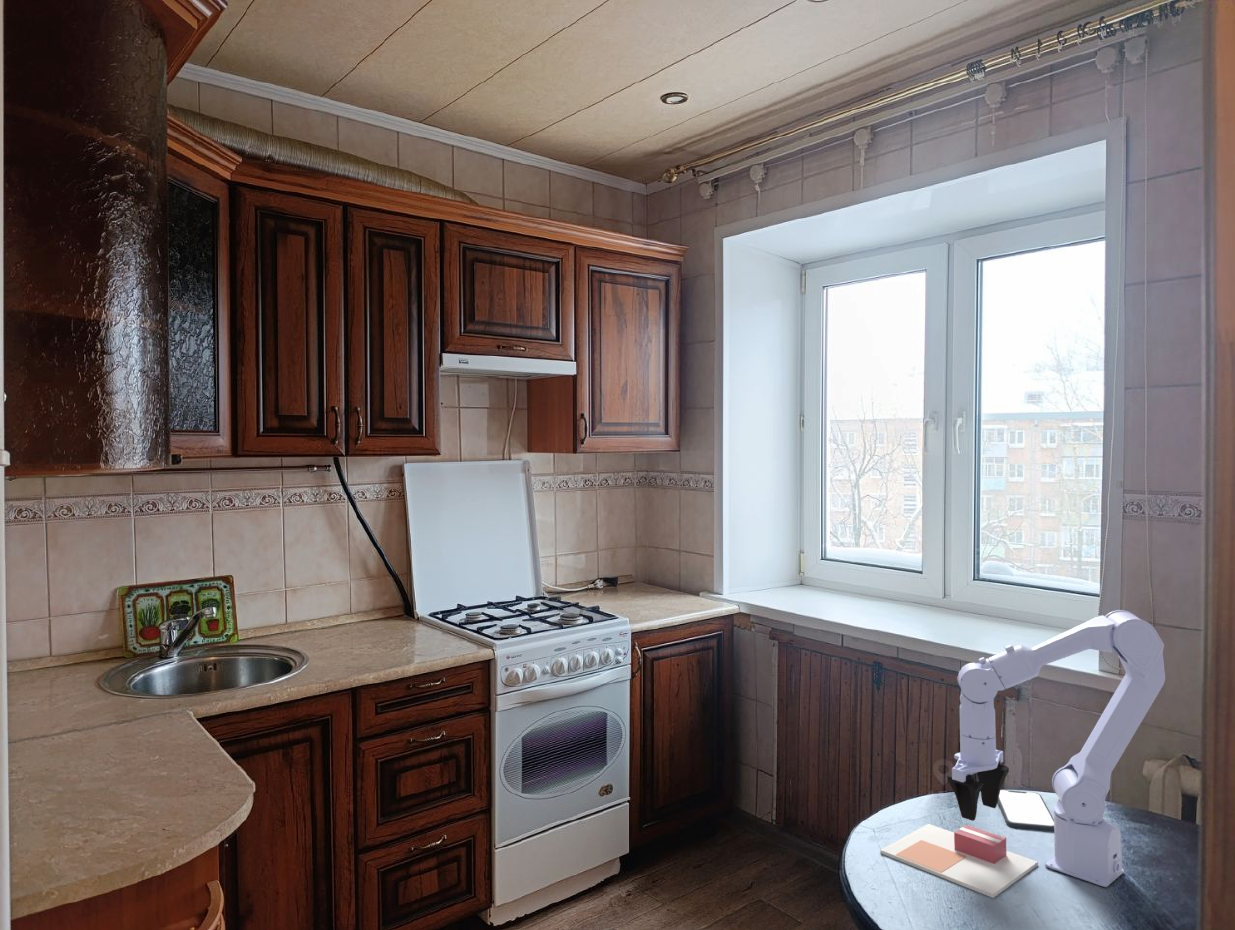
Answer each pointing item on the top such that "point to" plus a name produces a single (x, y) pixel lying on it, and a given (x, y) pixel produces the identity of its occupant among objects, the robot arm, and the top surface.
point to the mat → (957, 861)
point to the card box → (980, 844)
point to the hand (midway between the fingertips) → (979, 812)
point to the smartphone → (1025, 810)
